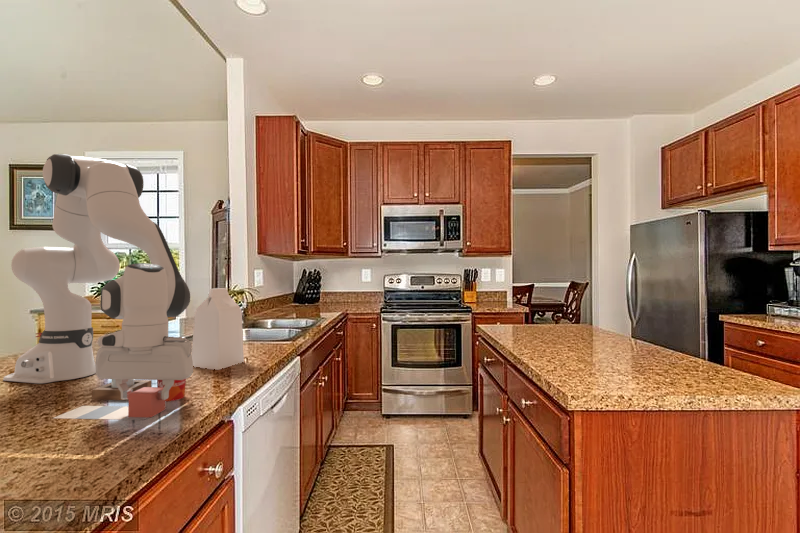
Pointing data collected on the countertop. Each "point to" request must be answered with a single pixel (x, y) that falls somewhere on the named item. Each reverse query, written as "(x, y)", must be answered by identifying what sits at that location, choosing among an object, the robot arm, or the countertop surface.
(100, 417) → the track
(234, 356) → the milk
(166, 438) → the countertop surface
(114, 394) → the button box
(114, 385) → the dome
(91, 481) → the countertop surface
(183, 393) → the paper cup
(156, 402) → the red block
